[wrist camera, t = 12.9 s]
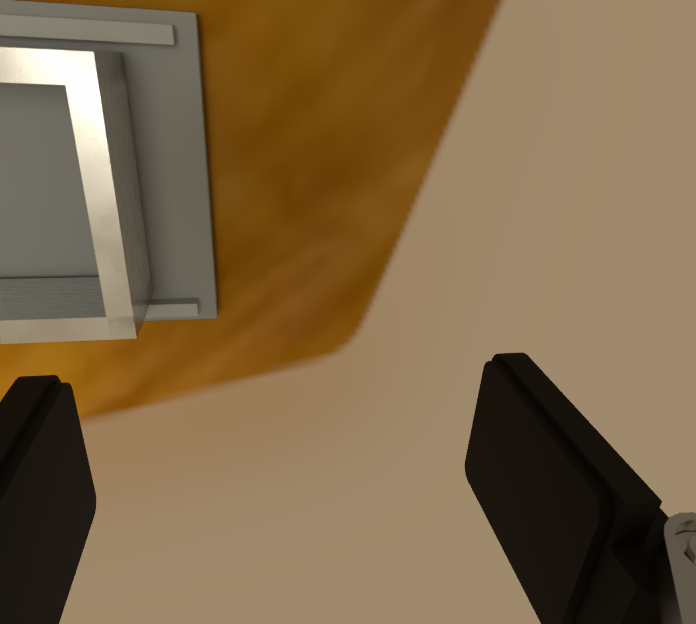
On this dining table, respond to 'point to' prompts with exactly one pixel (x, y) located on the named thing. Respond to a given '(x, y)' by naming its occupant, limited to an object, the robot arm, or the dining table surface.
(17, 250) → the base plate
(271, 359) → the dining table surface
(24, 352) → the dining table surface
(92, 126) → the collar
